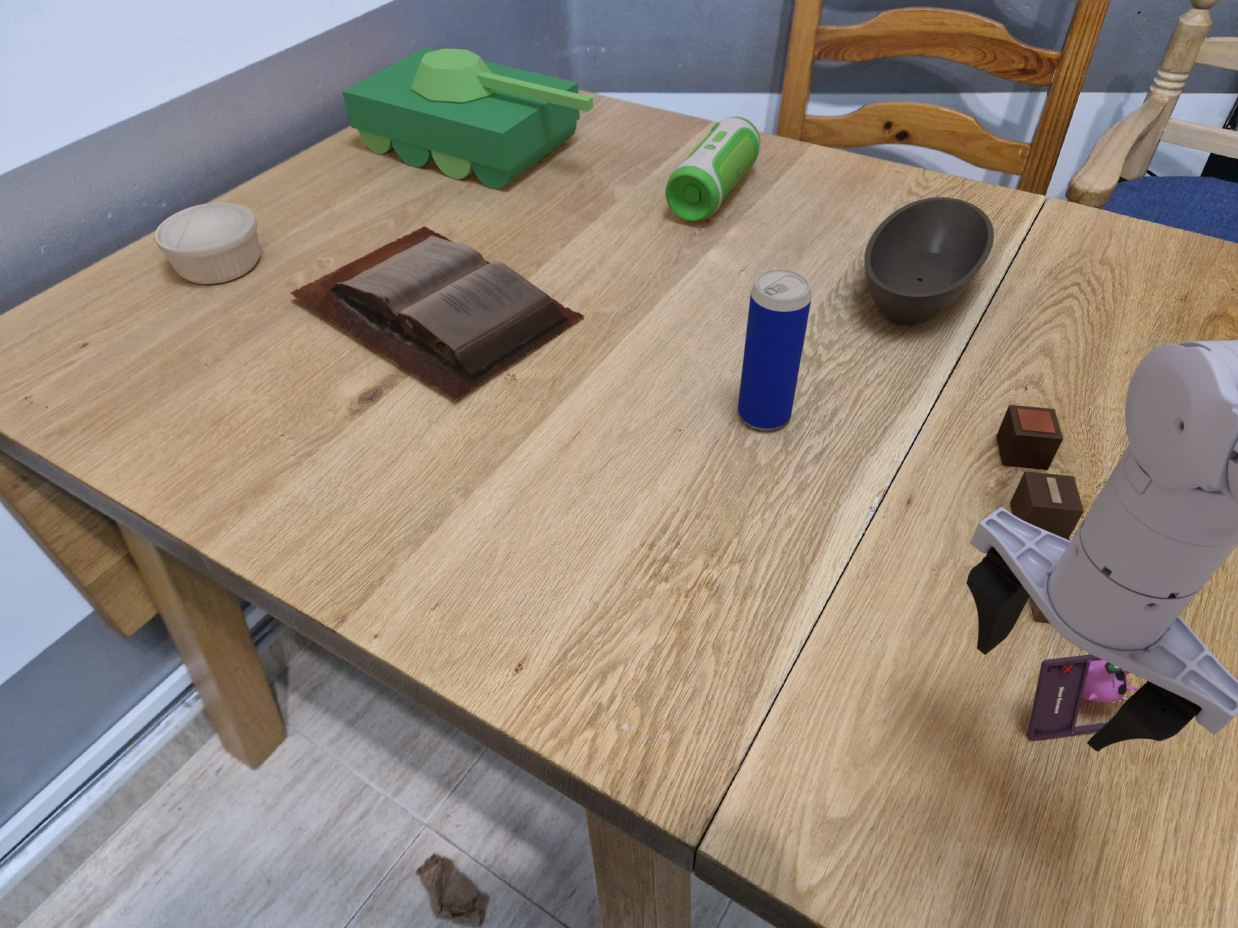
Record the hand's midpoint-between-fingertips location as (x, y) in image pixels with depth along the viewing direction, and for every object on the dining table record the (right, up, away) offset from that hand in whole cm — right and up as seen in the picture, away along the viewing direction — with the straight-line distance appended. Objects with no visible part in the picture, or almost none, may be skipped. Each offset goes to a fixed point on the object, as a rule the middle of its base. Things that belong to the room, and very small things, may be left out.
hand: (1044, 688), depth 51 cm
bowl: (+9, +33, +47) cm, 58 cm away
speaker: (-13, +49, +63) cm, 81 cm away
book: (-46, +31, +46) cm, 72 cm away
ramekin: (-73, +37, +53) cm, 98 cm away
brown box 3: (+9, +2, +17) cm, 19 cm away
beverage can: (-11, +18, +33) cm, 39 cm away
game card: (+7, -4, +11) cm, 14 cm away
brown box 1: (+12, +14, +28) cm, 34 cm away
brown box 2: (+11, +8, +23) cm, 26 cm away
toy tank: (-44, +58, +72) cm, 102 cm away
